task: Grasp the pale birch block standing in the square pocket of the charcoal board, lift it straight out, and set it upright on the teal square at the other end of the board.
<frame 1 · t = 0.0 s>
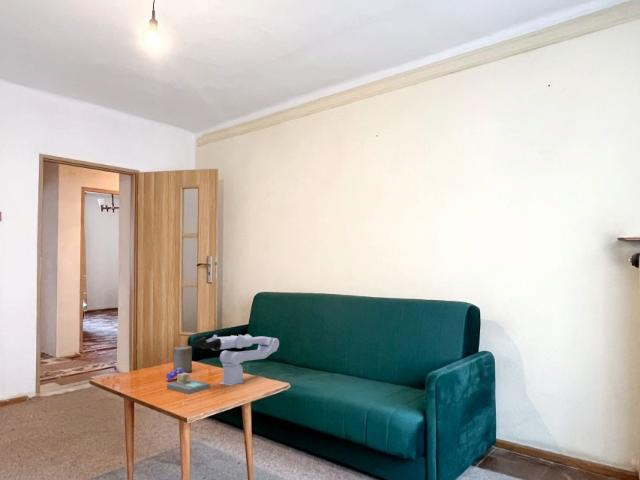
hand: (199, 344, 195), 22 cm above the table, tool horizontal, fingers open, 7 cm apart
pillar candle: (182, 373, 232), on the table
birch block: (183, 386, 202), resting on pocket board
game controller: (174, 381, 216), on the table
pocket board: (188, 389, 200), on the table
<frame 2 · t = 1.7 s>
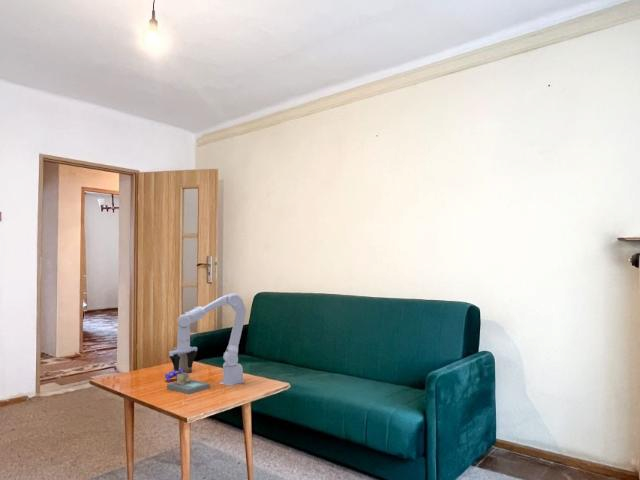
hand: (183, 368, 203), 9 cm above the table, tool pointing down, fingers open, 7 cm apart
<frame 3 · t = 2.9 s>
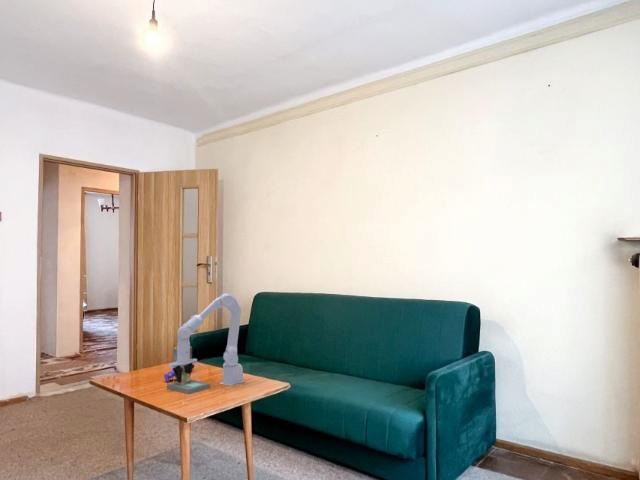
hand: (183, 381, 202), 3 cm above the table, tool pointing down, fingers closed on birch block, 4 cm apart
birch block: (183, 386, 202), resting on pocket board, touching gripper
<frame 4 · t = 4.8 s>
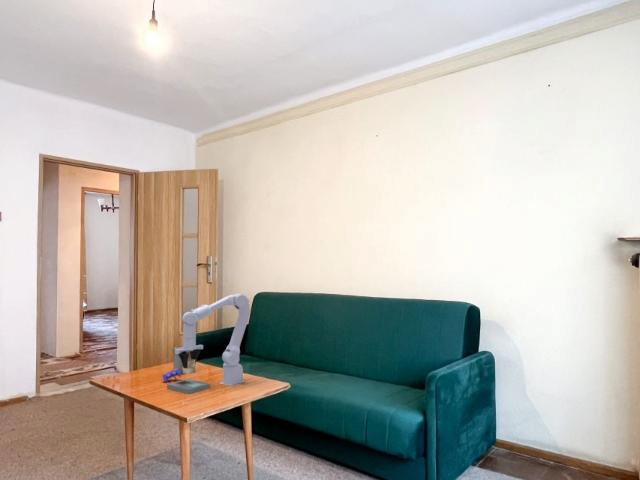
hand: (189, 367, 200), 10 cm above the table, tool pointing down, fingers closed on birch block, 4 cm apart
birch block: (188, 372, 200), point 8 cm above the table, touching gripper
when the fingers open (6 cm above the table, at t = 6.6 s): birch block stays where it is, resting on pocket board.
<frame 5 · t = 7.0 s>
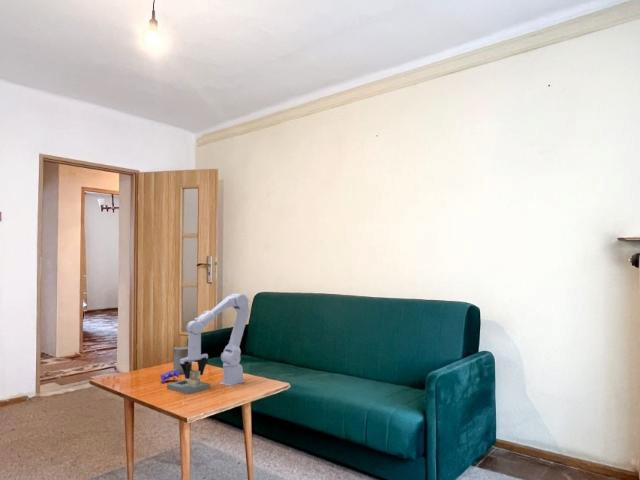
hand: (194, 376, 198), 6 cm above the table, tool pointing down, fingers open, 7 cm apart
birch block: (193, 384, 198), point 3 cm above the table, touching pocket board
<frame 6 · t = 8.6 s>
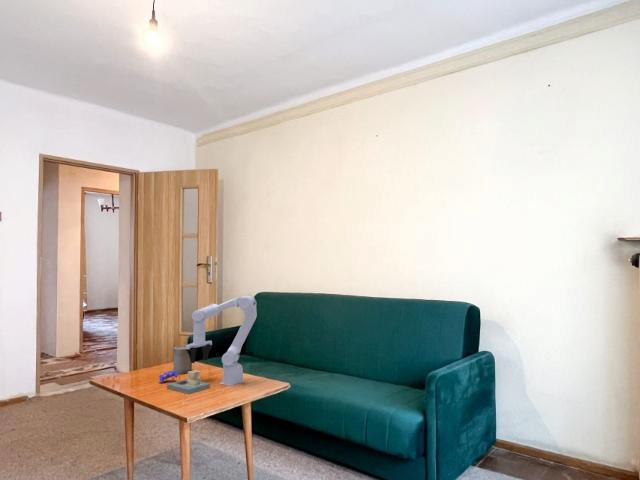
hand: (199, 361, 211), 10 cm above the table, tool pointing down, fingers open, 7 cm apart
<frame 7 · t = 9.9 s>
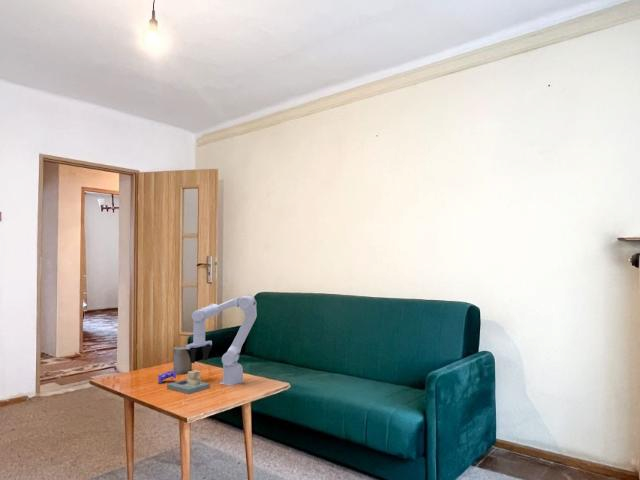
hand: (199, 361, 211), 10 cm above the table, tool pointing down, fingers open, 7 cm apart
at the end: birch block 0.2 cm from the target spot on the pocket board, point 2.7 cm above the pocket board's base; birch block tilted 0°; the gripper is holding nothing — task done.
